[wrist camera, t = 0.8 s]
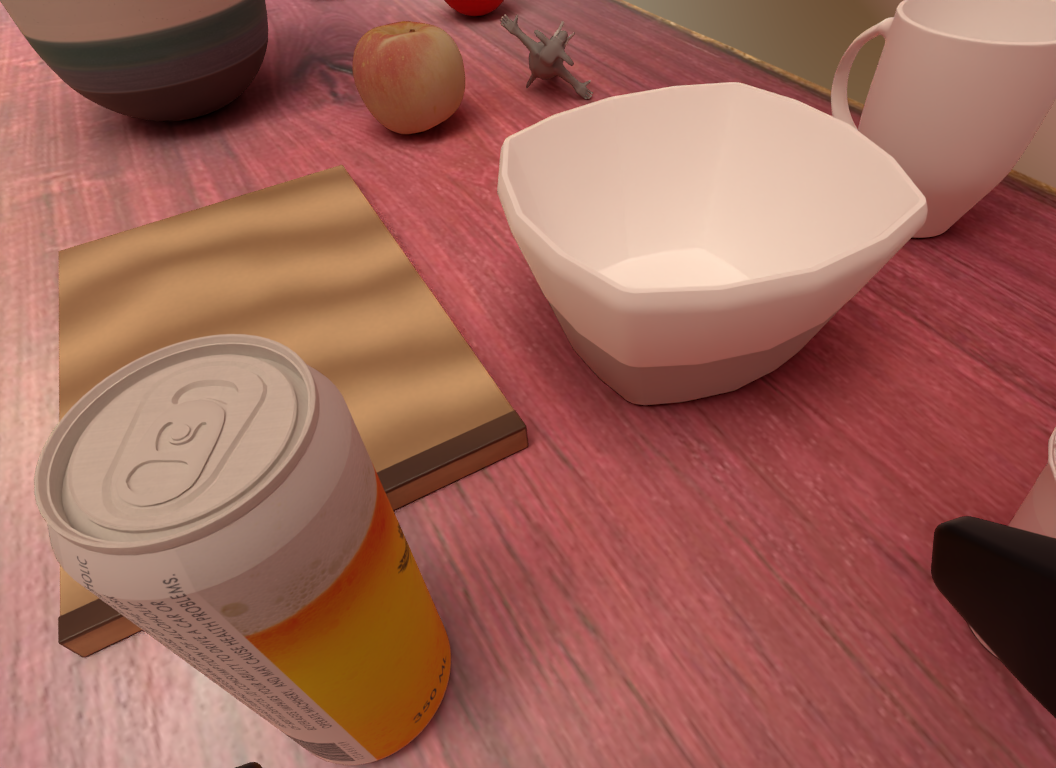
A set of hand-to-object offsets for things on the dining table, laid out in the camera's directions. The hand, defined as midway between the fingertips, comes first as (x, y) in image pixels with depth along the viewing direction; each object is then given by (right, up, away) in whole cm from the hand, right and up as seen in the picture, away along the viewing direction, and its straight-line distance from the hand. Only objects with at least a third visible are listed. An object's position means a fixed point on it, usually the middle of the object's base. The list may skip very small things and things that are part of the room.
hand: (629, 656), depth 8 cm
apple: (-11, +26, +47) cm, 54 cm away
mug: (+22, +15, +33) cm, 43 cm away
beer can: (-7, -8, +16) cm, 19 cm away
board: (-17, +6, +29) cm, 34 cm away
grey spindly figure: (0, +31, +50) cm, 59 cm away
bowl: (+7, +7, +28) cm, 29 cm away
